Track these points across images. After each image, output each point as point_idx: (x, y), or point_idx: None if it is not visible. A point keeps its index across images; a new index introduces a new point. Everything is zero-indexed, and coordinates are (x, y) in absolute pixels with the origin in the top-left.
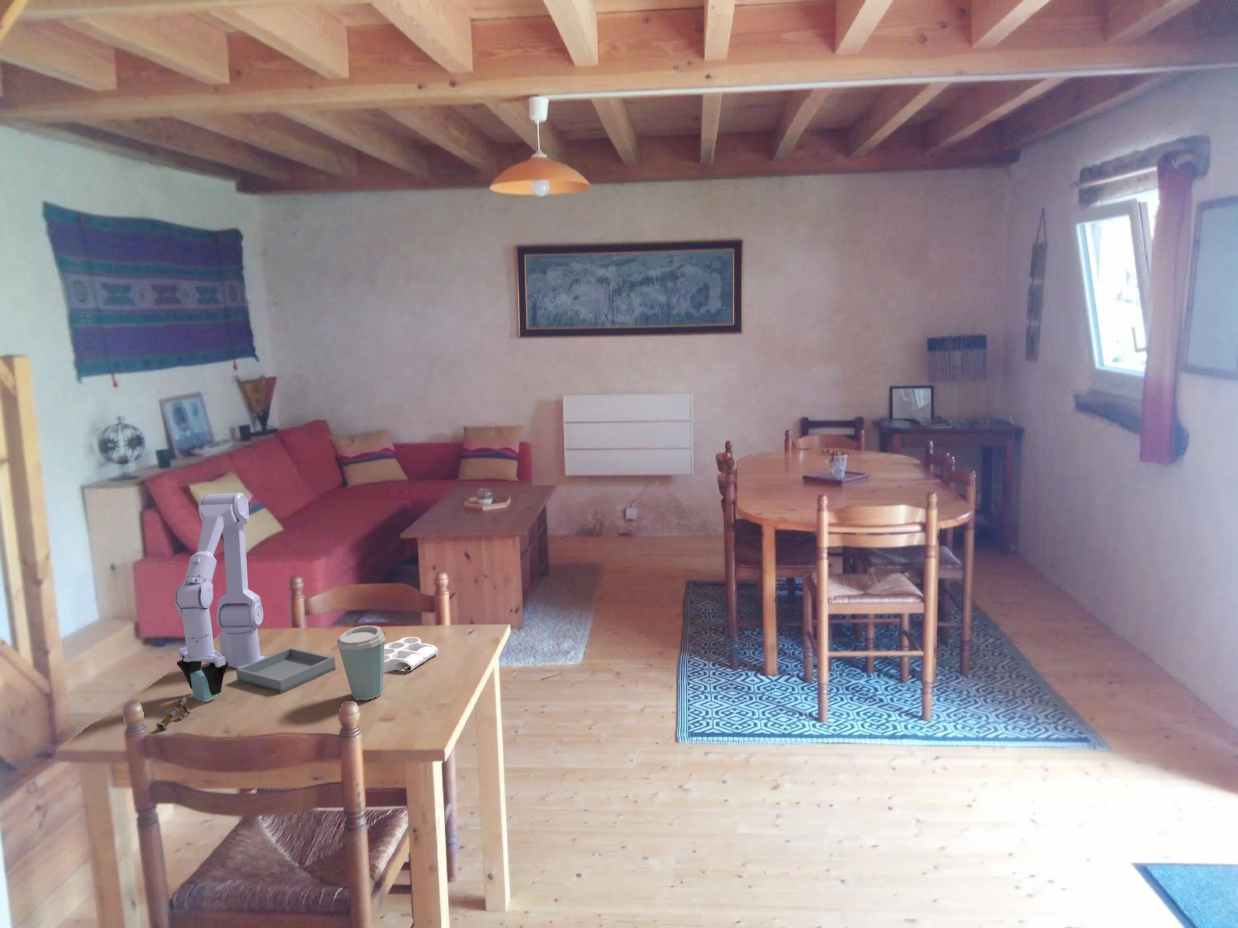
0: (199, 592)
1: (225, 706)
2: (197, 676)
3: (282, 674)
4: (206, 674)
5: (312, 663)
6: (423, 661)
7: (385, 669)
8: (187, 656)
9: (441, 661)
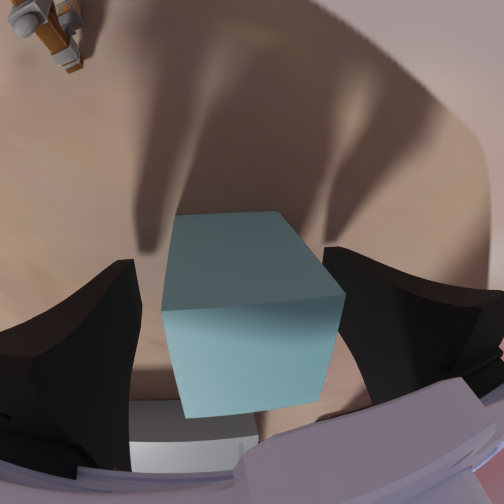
0: None
1: (23, 238)
2: (228, 300)
3: (140, 455)
4: (32, 334)
5: None
6: None
7: None
8: (439, 479)
9: None
